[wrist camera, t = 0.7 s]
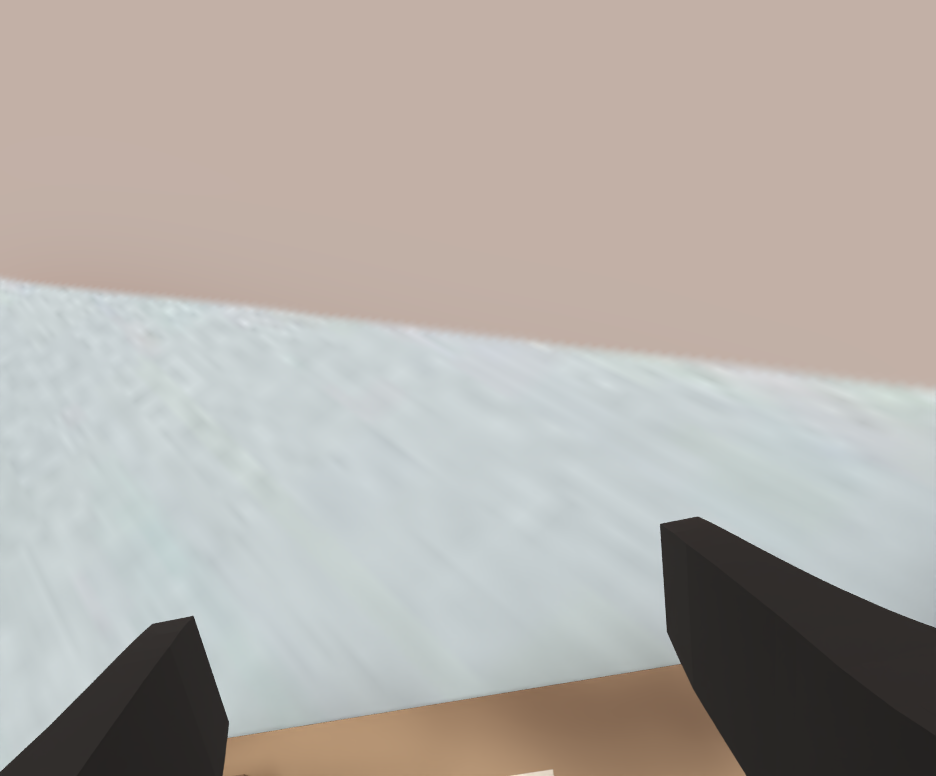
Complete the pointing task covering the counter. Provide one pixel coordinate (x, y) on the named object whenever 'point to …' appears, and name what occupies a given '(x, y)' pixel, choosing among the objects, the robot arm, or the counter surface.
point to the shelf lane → (510, 736)
